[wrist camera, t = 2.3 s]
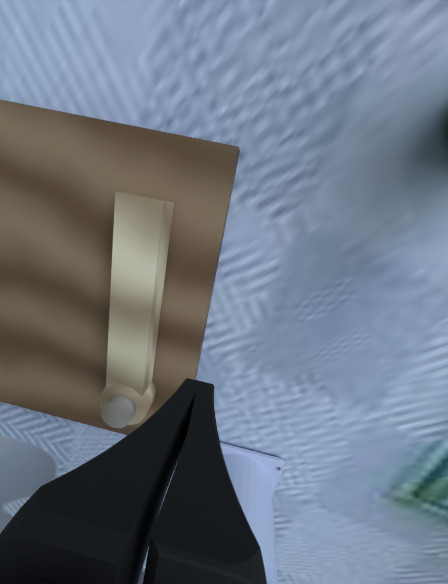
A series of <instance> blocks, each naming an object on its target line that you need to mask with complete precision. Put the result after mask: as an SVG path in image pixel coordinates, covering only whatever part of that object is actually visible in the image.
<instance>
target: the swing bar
mask: <svg viewBox="0 0 448 584" xmlns="http://www.w3.org/2000/svg"><path fill="white" fill-rule="evenodd" d="M173 206H174V202H169V201H164V200H159V199H155V198H150V197H145V196H141V195H136V194H131V193H122V192H115V207H114V228H113V248H112V269H111V290H110V310H109V331H108V352H107V372H106V387H105V388H104V389H103V391H102V392H101V394H100V397H99V403H100V406H101V409H102V412H101V416H102V419H103V420H104V422H105V423H106V424H107V425H109V426H111V427H113V428H123V427H125V426H126V425H134V424H137V423H139V422H141V421H142V420H143V419H144V418H145V416H146V414H147V412H148V410H149V408H150V406H151V405H152V403H153V401H154V399H155V397H156V388H155V385H154V383H153V381H152V377H153V369H154V361H155V353H156V344H157V336H158V328H159V320H160V312H161V304H162V296H163V288H164V279H165V271H166V263H167V255H168V247H169V239H170V231H171V222H172V214H173Z"/></svg>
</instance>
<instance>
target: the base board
mask: <svg viewBox="0 0 448 584" xmlns="http://www.w3.org/2000/svg"><path fill="white" fill-rule="evenodd" d="M239 152H240V150H239V147H237V146H232V145H227V144H222V143H217V142H212V141H207V140H202V139H196V138H191V137H186V136H181V135H176V134H171V133H166V132H161V131H156V130H151V129H146V128H141V127H136V126H131V125H126V124H121V123H115V122H110V121H105V120H100V119H95V118H90V117H85V116H80V115H75V114H70V113H65V112H60V111H55V110H50V109H45V108H40V107H34V106H29V105H24V104H19V103H14V102H9V101H4V100H0V401H1V402H5V403H9V404H12V405H16V406H20V407H24V408H27V409H31V410H35V411H39V412H42V413H46V414H50V415H54V416H58V417H61V418H65V419H69V420H73V421H76V422H80V423H84V424H88V425H91V426H95V427H99V428H103V429H106V430H110V431H114V432H118V433H121V434H125V435H129V434H130V433H132V432H133V431H134V430H135V429H137V428H138V427H139V426H140V425H142V424H143V423H144V422H145V421H146V420H147V419H148V418H150V417H151V416H152V415H153V414H154V413H155V412H156V411H157V410H158V409H159V408H160V407H161V406H162V405H163V404H164V403H165V402H166V401H167V400H168V399H169V398H170V397H171V396H172V395H173V394H174V393H175V391H176V390H177V389H178V388H179V387H180V385H181V384H182V383H183V381H184V380H185V379H187V378H190V379H194V380H196V374H197V369H198V364H199V359H200V354H201V349H202V343H203V338H204V333H205V328H206V323H207V318H208V312H209V307H210V302H211V297H212V292H213V287H214V281H215V276H216V271H217V266H218V261H219V255H220V250H221V245H222V240H223V235H224V230H225V224H226V219H227V214H228V209H229V204H230V199H231V193H232V188H233V183H234V178H235V173H236V167H237V162H238V157H239ZM115 192H122V193H131V194H136V195H141V196H145V197H150V198H155V199H159V200H164V201H169V202H174V206H173V214H172V222H171V231H170V239H169V247H168V255H167V263H166V271H165V279H164V288H163V296H162V304H161V312H160V320H159V328H158V336H157V344H156V353H155V361H154V369H153V377H152V381H153V383H154V385H155V388H156V397H155V399H154V401H153V403H152V405H151V406H150V408H149V410H148V412H147V414H146V416H145V418H144V419H143V420H142V421H141V422H139V423H137V424H134V425H126V426H125V427H123V428H113V427H111V426H109V425H107V424H106V423H105V422H104V420H103V419H102V416H101V412H102V409H101V406H100V403H99V397H100V394H101V392H102V391H103V389H104V388H105V387H106V372H107V352H108V331H109V310H110V290H111V269H112V248H113V228H114V207H115Z"/></svg>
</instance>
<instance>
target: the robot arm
mask: <svg viewBox="0 0 448 584" xmlns="http://www.w3.org/2000/svg"><path fill="white" fill-rule="evenodd" d="M179 456H180V457H179ZM178 459H179V460H178ZM177 461H178V463H177ZM176 464H177V465H176ZM175 466H176V468H175ZM284 466H285V463H284V460H283V459H281V458H278V457H274V456H270V455H266V454H262V453H259V452H255V451H251V450H247V449H243V448H240V447H236V446H232V445H228V444H224V443H220V441H219V436H218V431H217V425H216V418H215V411H214V385H213V384H210V383H206V382H202V381H198V380H194V379H190V378H187V379H185V380H184V381H183V383H182V384H181V385H180V387H179V388H178V389H177V390H176V391H175V393H174V394H173V395H172V396H171V397H170V398H169V399H168V400H167V401H166V402H165V403H164V404H163V405H162V406H161V407H160V408H159V409H158V410H157V411H156V412H155V413H154V414H153V415H152V416H151V417H150V418H148V419H147V420H146V421H145V422H144V423H143V424H142V425H140V426H139V427H138V428H137V429H135V430H134V431H133V432H132V433H130V434H129V435H128V436H126V437H125V438H123V439H122V440H121V441H119V442H118V443H116V444H115V445H114V446H112V447H111V448H109V449H108V450H106V451H105V452H103V453H101V454H100V455H98V456H96V457H95V458H93V459H91V460H90V461H88V462H86V463H85V464H83V465H81V466H80V467H78V468H76V469H74V470H72V471H70V472H68V473H66V474H64V475H62V476H61V477H59V478H57V479H55V480H53V481H51V482H49V483H47V484H45V485H43V486H41V487H40V488H39V489H38V490H37V491H36V492H35V493H34V494H33V495H32V496H31V497H30V499H29V500H28V501H27V502H26V503H25V504H24V505H23V506H22V507H21V508H20V509H19V511H18V512H17V513H16V514H15V516H14V517H13V518H12V520H11V521H10V522H9V523H8V525H7V526H6V527H5V529H4V530H3V531H2V532H1V534H0V584H137V583H138V580H139V577H140V574H141V570H142V567H143V563H144V560H145V557H146V553H147V550H148V547H149V550H148V556H147V562H146V568H145V575H144V581H143V584H277V565H276V546H275V527H274V508H273V494H274V492H275V489H276V487H277V484H278V482H279V479H280V477H281V474H282V472H283V469H284ZM174 469H175V471H174ZM173 471H174V474H173ZM172 474H173V477H172V480H171V482H170V479H171V476H172ZM169 482H170V485H169V488H168V491H167V494H166V496H165V499H164V502H163V505H162V507H161V504H162V501H163V498H164V495H165V492H166V489H167V487H168V484H169ZM160 507H161V510H160ZM159 511H160V513H159ZM158 514H159V515H158ZM157 517H158V518H157ZM156 520H157V521H156Z"/></svg>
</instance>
